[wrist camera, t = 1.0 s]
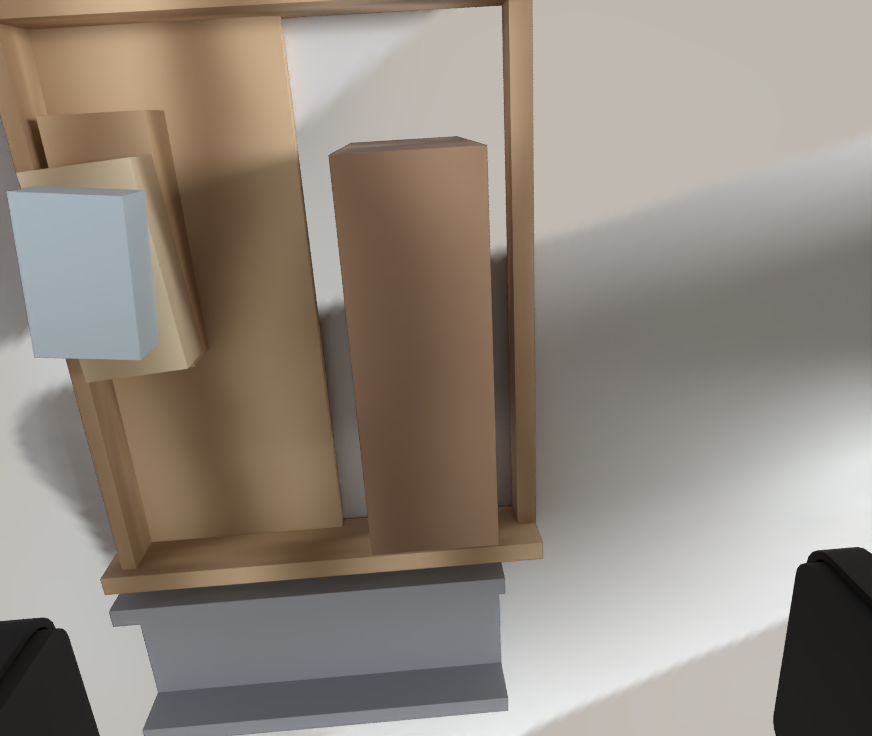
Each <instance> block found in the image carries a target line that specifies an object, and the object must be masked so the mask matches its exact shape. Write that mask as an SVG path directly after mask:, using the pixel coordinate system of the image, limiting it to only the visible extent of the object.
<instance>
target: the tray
mask: <svg viewBox="0 0 872 736" xmlns="http://www.w3.org/2000/svg"><path fill="white" fill-rule="evenodd" d="M500 5H502V31H503V79H504V125H505V126H504V127H505V173H506V174H505V175H506V176H505V177H506V223H507V224H506V225H507V275H508V324H509V372H510V421H511V470H512V506H503V507H498V537H499V545H490V546H478V547H466V548H454V549H441V550H429V551H417V552H405V553H393V554H381V555H372V550H371V541H370V532H369V523H368V517H367V518H354V519H343V511H342V503H341V495H340V487H339V479H338V471H337V463H336V455H335V446H334V438H333V430H332V422H331V414H330V406H329V398H328V390H327V382H326V374H325V366H324V357H323V349H322V341H321V333H320V325H319V317H318V309H317V301H316V293H315V285H314V277H313V268H312V261H311V252H310V244H309V237H308V228H307V221H306V212H305V204H304V196H303V188H302V180H301V171H300V163H299V155H298V147H297V139H296V131H295V123H294V115H293V107H292V99H291V90H290V82H289V74H288V66H287V58H286V50H285V42H284V34H283V26H282V18H288V17H305V16H323V15H341V14H359V13H377V12H394V11H412V10H430V9H448V8H465V7H483V6H500ZM532 21H533V18H532V0H0V114H1V118H2V122H3V126H4V129H5V133H6V137H7V141H8V144H9V148H10V152H11V156H12V159H13V163H14V167H15V171H16V173H19V172H26V171H33V170H40V169H47V168H49V167H48V163H47V159H46V155H45V151H44V147H43V143H42V139H41V135H40V131H39V127H38V123H37V119H36V116H50V115H66V114H83V113H100V112H116V111H133V110H163V111H164V113H165V118H166V124H167V129H168V134H169V140H170V145H171V150H172V156H173V161H174V167H175V172H176V177H177V183H178V188H179V193H180V199H181V204H182V209H183V215H184V220H185V226H186V231H187V236H188V242H189V247H190V252H191V258H192V263H193V268H194V274H195V279H196V284H197V290H198V295H199V301H200V306H201V311H202V317H203V322H204V327H205V333H206V338H207V343H208V349H209V350H208V351H207V352H206V353H205V355H204V356H203V357H202V358H201V360H200V361H199V362H198V363H197V365H196V366H195V367H189V368H188V369H182V370H175V371H168V372H161V373H154V374H146V375H139V376H132V377H125V378H118V379H111V380H103V381H96V382H89V383H87V382H86V379H85V376H84V373H83V370H82V368H81V365H80V362H79V359H72V358H66V362H67V365H68V369H69V373H70V377H71V380H72V384H73V388H74V392H75V395H76V399H77V403H78V407H79V410H80V414H81V418H82V422H83V425H84V429H85V433H86V437H87V440H88V444H89V448H90V452H91V455H92V459H93V463H94V467H95V470H96V474H97V478H98V482H99V485H100V489H101V493H102V497H103V500H104V504H105V508H106V512H107V515H108V519H109V523H110V527H111V530H112V534H113V538H114V542H115V545H116V549H117V554H116V556H115V557H114V559H113V560H112V562H111V563H110V565H109V566H108V568H107V570H106V571H105V573H104V574H103V576H102V577H101V579H100V580H101V583H102V587H103V590H104V594H105V595H110V594H123V593H135V592H147V591H159V590H171V589H183V588H195V587H207V586H219V585H231V584H243V583H255V582H267V581H279V580H291V579H303V578H315V577H327V576H339V575H351V574H363V573H375V572H387V571H399V570H411V569H423V568H435V567H447V566H459V565H471V564H483V563H495V562H507V561H519V560H531V559H543V542H542V539H541V536H540V534H539V531H538V528H537V525H536V491H535V334H534V197H533V196H534V192H533V191H534V190H533V189H534V184H533V183H534V182H533V24H532V23H533V22H532ZM18 182H19V181H18ZM19 186H20V184H19ZM20 189H21V187H20Z"/></svg>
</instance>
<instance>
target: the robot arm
mask: <svg viewBox="0 0 872 736" xmlns="http://www.w3.org/2000/svg"><path fill="white" fill-rule="evenodd" d="M773 724H774V730H775V734H776V736H872V554H871V553H870V552H868V551H867V550H865V549H864V548H859V547H853V548H841V549H829V550H818V551H815V552H812V553H811V554H810V556H809V557H808V560H807V563H804V564H801V565H800V566H799V567H798V568H797V572H796V576H795V583H794V589H793V595H792V602H791V608H790V614H789V621H788V627H787V633H786V640H785V646H784V653H783V659H782V666H781V671H780V678H779V684H778V691H777V697H776V703H775V710H774V716H773ZM0 736H100V735H99V732H98V729H97V725H96V722H95V719H94V716H93V713H92V710H91V706H90V703H89V700H88V697H87V694H86V690H85V687H84V684H83V681H82V678H81V674H80V671H79V668H78V665H77V662H76V659H75V655H74V652H73V649H72V646H71V642H70V639H69V636H68V634H67V632H66V631H65V630H64V629H59V628H58V629H56V628H55V626H54V624H53V622H52V621H50V620H49V619H48V618H33V619H22V620H10V621H0Z"/></svg>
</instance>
